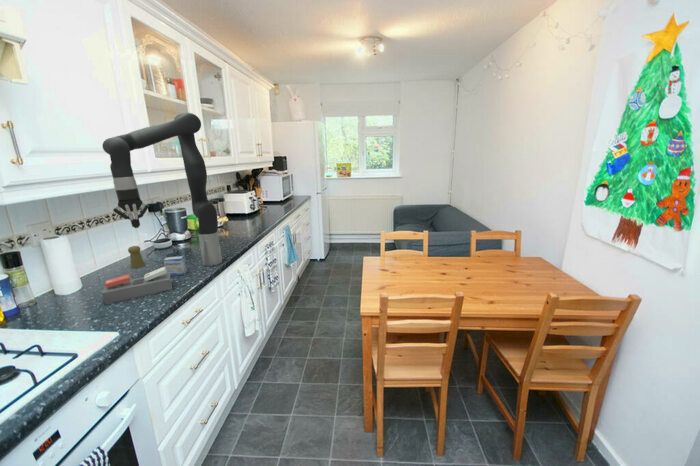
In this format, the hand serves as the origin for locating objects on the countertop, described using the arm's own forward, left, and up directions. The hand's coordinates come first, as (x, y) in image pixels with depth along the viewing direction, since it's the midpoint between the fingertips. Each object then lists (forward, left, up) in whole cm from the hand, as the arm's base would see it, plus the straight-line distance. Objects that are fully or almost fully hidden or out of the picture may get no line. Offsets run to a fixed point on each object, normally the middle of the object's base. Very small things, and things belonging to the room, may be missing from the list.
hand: (136, 227), depth 127 cm
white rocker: (-4, +10, -19) cm, 22 cm away
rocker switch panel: (+3, +10, -27) cm, 28 cm away
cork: (+6, -27, -27) cm, 39 cm away
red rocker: (+9, +10, -19) cm, 23 cm away
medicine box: (-11, -4, -27) cm, 29 cm away
